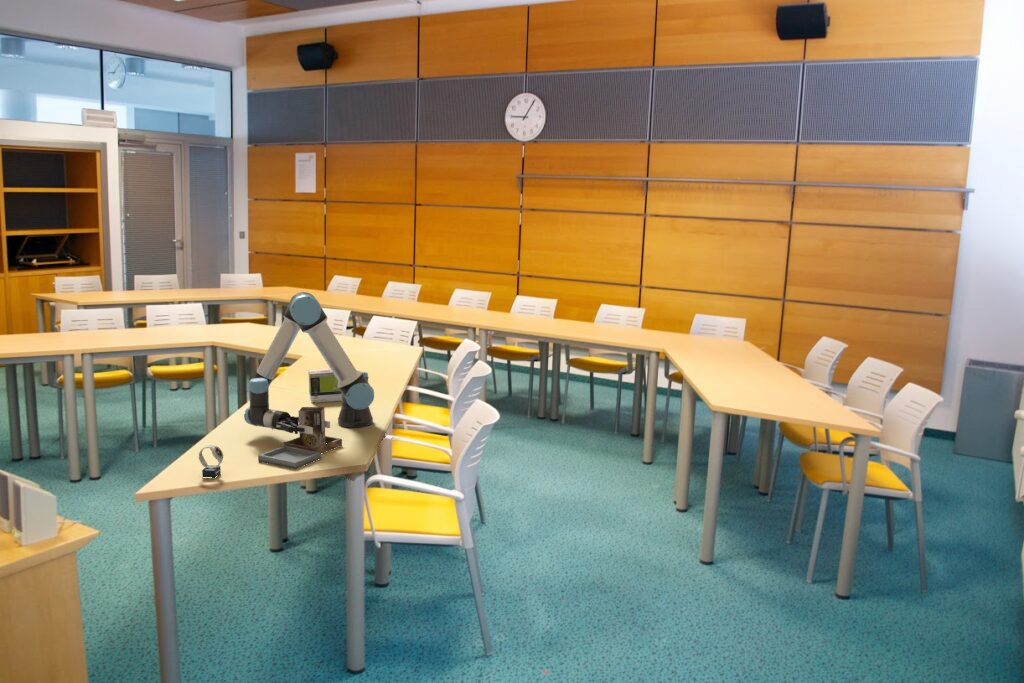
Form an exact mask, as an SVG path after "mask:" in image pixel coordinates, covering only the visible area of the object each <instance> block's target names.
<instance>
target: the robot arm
mask: <svg viewBox="0 0 1024 683" xmlns="http://www.w3.org/2000/svg"><path fill="white" fill-rule="evenodd" d="M327 321H328V315H327V314H326V313H325V311H324V310H323V308H322V306H321V303H320V302H319V301H318V299H317V298H316V297H315V296H314V295H313V294H311V293H310V292H307V291H301V292H298V293H296V294H294V295H293V296H292V297H291V299H290V301H289V303H288V306H287V308H286V310H285V312H284V314H283V321H282V322H281V324H280V327H279V329H278V331H277V333H276V334H275V336H274V337H273V340H272V341H271V344H270V346H269V347H268V349H267V351H266V352H265V354H264V356H263V359H262V360H261V362H260V363H259V366H258V368H256V372H255V373H254V375H253V377H252V378H251V379H250V380H249V382H248V391H249V392H248V394H249V396H248V398H249V407H247V408H246V409H245V411H244V414H243V418H244V422H246V423H247V424H249V425H252V426H255V427H261V428H266V429H267V428H269V429H271V430H272V431H273V430H277V431H282V432H283V431H284V432H285V433H289V434H295V435H298V434H299V432H301V433H306V434H313V427H309V426H303V425H299V415H298V416H295V415H294V416H293V415H292V416H291V414H290V413H289V412H287V411H281V410H279V409H277V410H276V409H270V402H269V401H270V400H269V399H270V398H269V397H270V394H269V388H270V386H271V384H272V382H273V380H274V378H275V376H276V374H277V372H278V370H279V369H280V366H281V365H282V363H283V361H284V359H285V357H286V356H287V354H288V352H289V351H290V349H291V346H292V344H293V343H294V341H295V340H296V337H297V336H298V334H299V332H300V330H301V332H303V333H305V334H308V335H309V337H310V339H311V340H312V342H313V343H314V345H315V347H316V348H317V350H318V351H319V353H320V355H321V356H322V358H323V359H324V361H325V363H326V364H327V365H328V367H329V369H331V370H332V372H333V373H334V375H335V376H336V378H337V379H338V388H339V389H340V391H341V393H342V401H341V408H340V410H339V414H338V418H337V425H338V424H339V426H340V425H341V427H343V426H344V427H345V428H363V427H368V426H370V425H373V423H374V422H373V421H374V420H373V419H374V418H373V416H372V412H371V408H370V406H371V405H372V404H373V402H374V399H375V391H374V388H373V386H371V384H370V383H369V374H368V372H367V371H361V370H357V369H356V367H355V366H354V364H353V363H352V361H351V360H350V358H349V356H348V355H347V353H346V352H345V350H344V348H343V347H342V344H341V343H340V342H339V340H338V339H337V337H336V335H335V334H334V332H333V331H332V329H331V328H330V326H329V324H328V323H327ZM330 428H331V421H330V420H326V419H325V429H330Z"/></svg>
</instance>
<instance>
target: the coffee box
mask: <svg viewBox="0 0 1024 683" xmlns="http://www.w3.org/2000/svg"><path fill="white" fill-rule="evenodd" d="M325 413H326V412H325V406H302V407H301V408H300V409H299V411H298V416H299V421H298V422H299V423H298V424H299V425H303V426H309V427H313V434H306V433H301V432H298V434H299V437H300V445H301V446H306V447H311V448H316V447H319V446H321V445H324V444H326V442H325V436H326V428H325V420H326V417H325V416H326V414H325Z"/></svg>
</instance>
